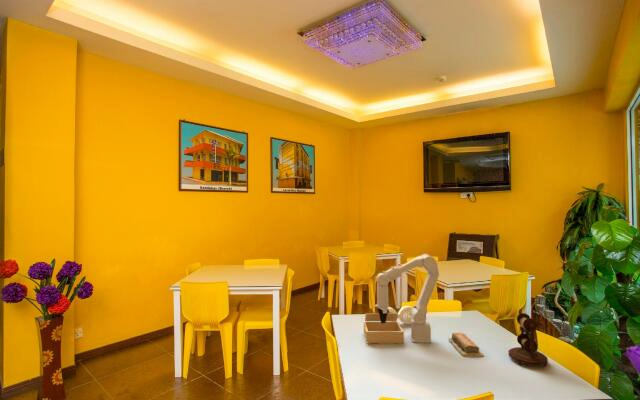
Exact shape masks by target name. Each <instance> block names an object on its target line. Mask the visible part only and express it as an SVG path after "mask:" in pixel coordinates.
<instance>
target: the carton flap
mask: <svg viewBox="0 0 640 400" xmlns="http://www.w3.org/2000/svg"><path fill="white" fill-rule="evenodd" d="M398 313H399V312H397V313H392V312H389V313H388V314H387V318H386V321H396V322H398V318H397V317H398ZM364 316H365V318H364V322H381V321H380V315H379V312H377V313H375V312H373V313H372V312H368V313H367V312H366V313H365V315H364Z"/></svg>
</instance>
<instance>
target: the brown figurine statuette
mask: <svg viewBox="0 0 640 400" xmlns="http://www.w3.org/2000/svg"><path fill="white" fill-rule="evenodd" d="M516 322H517V323H518V324H519V325H520V326H519V330H520V332H521V333H520V334H518V335H517V337H516V341H517V343H518V344H519V345H520V347H519V346H518V347H517V346H516V347H512V348H509V349H508V356H509V357H510V359H513V360H514V361H516V362H518V364H519V366H522V364H525V365H530V366H543V365H544V366H545V367H546V366H547V364H548V361H549V360H548V357H547V356H546V355H545V354H544V353H542V352H541V351H538V348H539V343H538V342H539V341H538V333H537V328H538V322H537V321H536V319H534V318H531V317H530V315H529V314H527V313H525V312H524V313H523V312H521V313H519V314H518V315H517V317H516ZM544 366H543V367H544Z"/></svg>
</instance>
